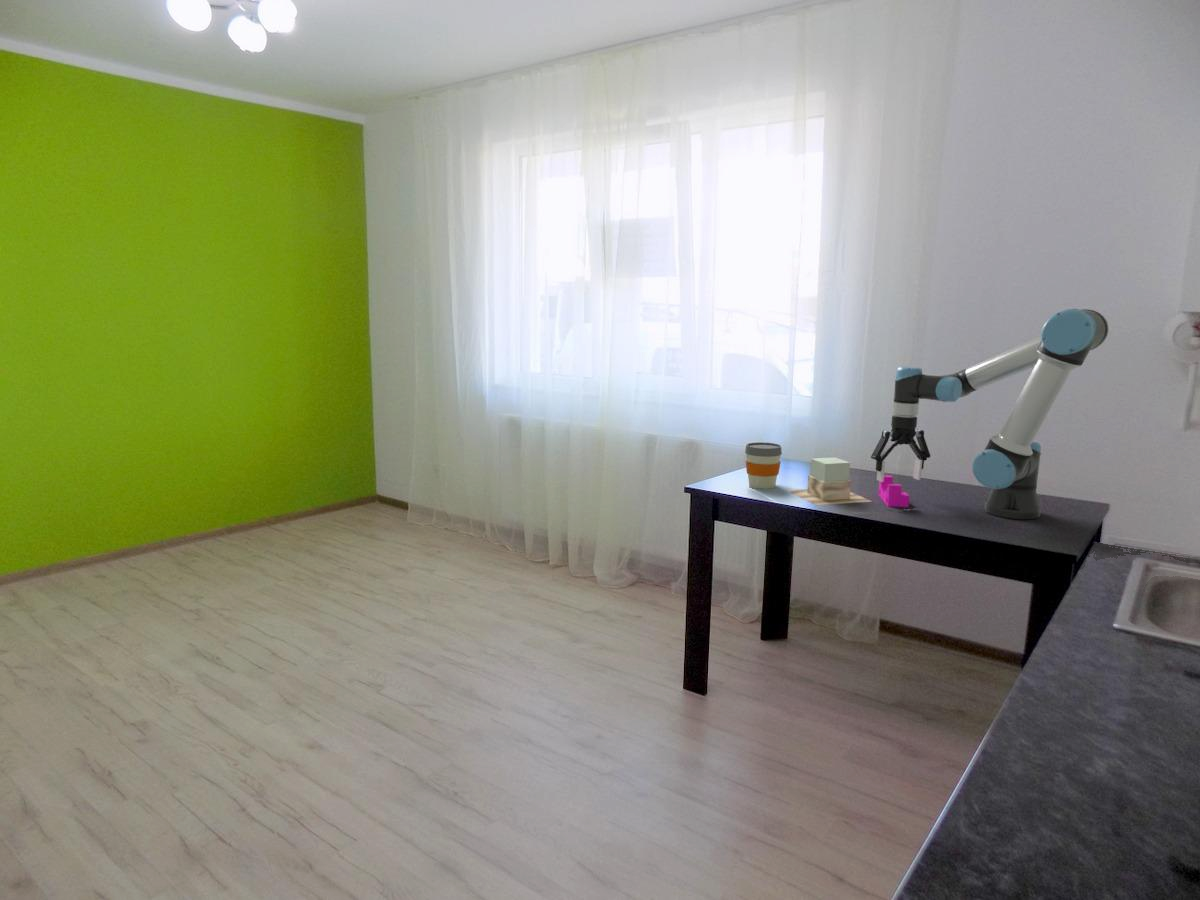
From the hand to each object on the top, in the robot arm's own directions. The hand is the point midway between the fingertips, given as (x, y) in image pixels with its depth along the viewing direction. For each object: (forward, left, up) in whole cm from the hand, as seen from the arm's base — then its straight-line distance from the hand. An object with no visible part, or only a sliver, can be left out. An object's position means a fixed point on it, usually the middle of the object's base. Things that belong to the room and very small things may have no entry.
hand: (898, 480), depth 245 cm
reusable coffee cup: (+30, +34, -8) cm, 46 cm away
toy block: (0, +2, -8) cm, 8 cm away
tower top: (+11, +19, -1) cm, 22 cm away
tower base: (+11, +19, -7) cm, 23 cm away
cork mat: (+11, +19, -7) cm, 23 cm away
